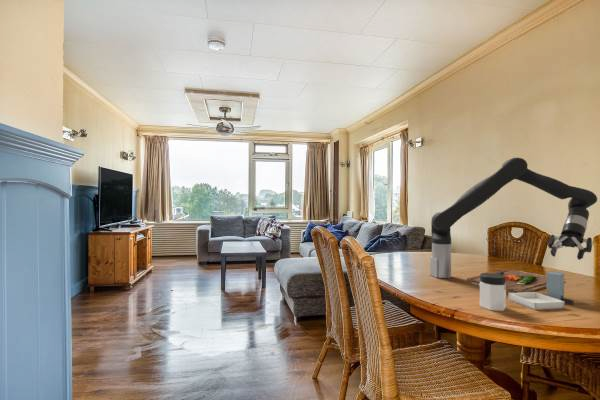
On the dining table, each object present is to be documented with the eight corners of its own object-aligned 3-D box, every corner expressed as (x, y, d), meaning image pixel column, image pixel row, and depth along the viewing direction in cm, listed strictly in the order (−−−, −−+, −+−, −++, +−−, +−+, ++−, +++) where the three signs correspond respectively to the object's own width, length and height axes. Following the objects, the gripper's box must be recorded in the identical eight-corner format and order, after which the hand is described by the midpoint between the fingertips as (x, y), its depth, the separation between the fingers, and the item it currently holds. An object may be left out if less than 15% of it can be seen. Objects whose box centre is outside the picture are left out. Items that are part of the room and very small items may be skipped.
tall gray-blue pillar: (546, 300, 128) (546, 272, 127) (551, 298, 131) (551, 271, 130) (559, 303, 124) (559, 275, 124) (564, 300, 127) (564, 273, 127)
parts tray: (534, 310, 117) (534, 303, 117) (508, 299, 129) (508, 293, 129) (564, 308, 119) (564, 301, 119) (535, 297, 131) (535, 291, 131)
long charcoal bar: (538, 297, 131) (538, 293, 131) (539, 296, 132) (539, 293, 132) (572, 304, 122) (572, 300, 122) (573, 303, 123) (573, 300, 123)
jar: (482, 301, 126) (482, 271, 126) (507, 306, 121) (507, 274, 121) (477, 308, 119) (477, 275, 119) (503, 313, 114) (503, 279, 114)
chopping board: (520, 296, 134) (520, 289, 134) (460, 281, 158) (460, 275, 158) (568, 282, 157) (568, 275, 157) (510, 271, 180) (510, 265, 180)
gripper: (552, 221, 145) (542, 249, 138) (594, 223, 133) (585, 253, 127) (556, 232, 148) (547, 259, 141) (597, 234, 136) (589, 265, 130)
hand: (565, 256), depth 134 cm, fingers open, 8 cm apart
